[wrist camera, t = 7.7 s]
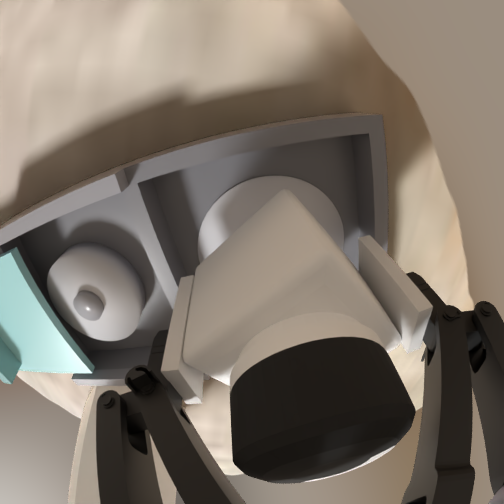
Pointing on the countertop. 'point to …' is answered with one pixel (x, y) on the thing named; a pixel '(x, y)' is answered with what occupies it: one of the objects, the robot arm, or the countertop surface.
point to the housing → (189, 224)
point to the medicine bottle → (296, 349)
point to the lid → (32, 327)
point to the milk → (85, 463)
